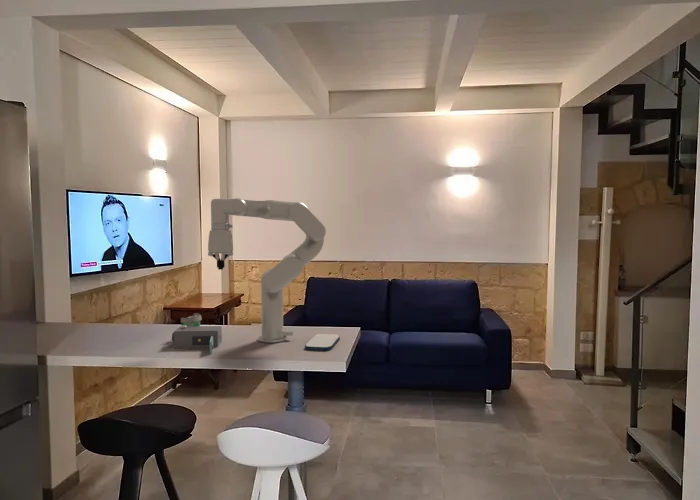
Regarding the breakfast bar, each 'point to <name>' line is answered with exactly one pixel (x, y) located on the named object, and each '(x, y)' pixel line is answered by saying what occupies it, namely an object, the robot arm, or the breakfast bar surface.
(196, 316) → the food container
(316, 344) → the external hard drive
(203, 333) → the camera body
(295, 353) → the breakfast bar surface
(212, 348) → the side door
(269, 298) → the robot arm
